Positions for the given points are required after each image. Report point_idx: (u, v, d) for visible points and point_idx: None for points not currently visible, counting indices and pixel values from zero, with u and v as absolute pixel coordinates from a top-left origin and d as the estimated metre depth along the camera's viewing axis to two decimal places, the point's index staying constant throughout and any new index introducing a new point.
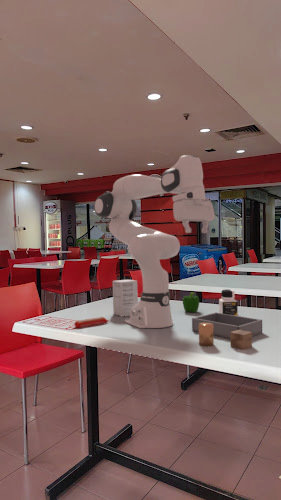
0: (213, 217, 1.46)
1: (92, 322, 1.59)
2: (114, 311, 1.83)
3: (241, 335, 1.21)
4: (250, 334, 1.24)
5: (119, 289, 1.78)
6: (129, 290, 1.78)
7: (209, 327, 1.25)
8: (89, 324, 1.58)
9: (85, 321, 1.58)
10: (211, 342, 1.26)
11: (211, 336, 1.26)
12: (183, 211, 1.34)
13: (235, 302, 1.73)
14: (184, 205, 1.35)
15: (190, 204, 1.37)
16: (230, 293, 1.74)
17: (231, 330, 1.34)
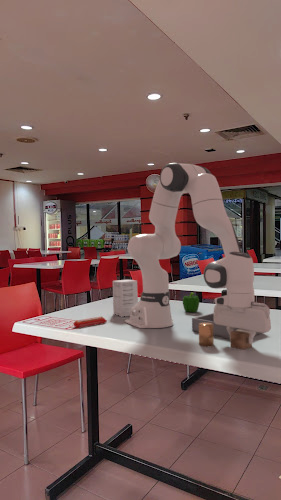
0: (262, 329, 1.16)
1: (91, 322, 1.60)
2: (114, 311, 1.83)
3: (241, 335, 1.21)
4: None
5: (119, 289, 1.78)
6: (129, 290, 1.78)
7: (209, 327, 1.25)
8: (88, 324, 1.59)
9: (84, 321, 1.59)
10: (211, 342, 1.26)
11: (211, 336, 1.26)
12: (216, 315, 1.29)
13: None
14: (218, 310, 1.29)
15: (226, 309, 1.26)
16: None
17: None
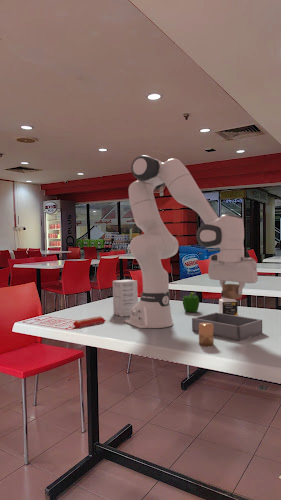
0: (249, 280, 1.33)
1: (91, 321, 1.60)
2: (114, 311, 1.83)
3: (232, 286, 1.38)
4: None
5: (119, 289, 1.78)
6: (129, 290, 1.78)
7: (209, 327, 1.25)
8: (88, 324, 1.59)
9: (84, 321, 1.59)
10: (211, 342, 1.26)
11: (211, 336, 1.26)
12: (211, 271, 1.46)
13: (235, 302, 1.73)
14: (212, 267, 1.45)
15: (219, 265, 1.43)
16: None
17: (231, 330, 1.34)
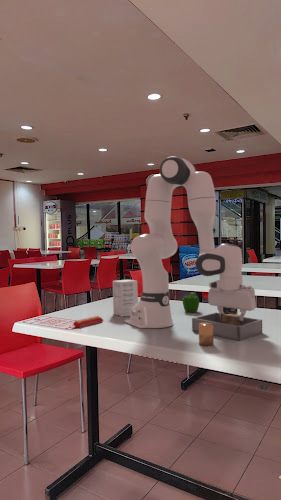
0: (248, 307, 1.39)
1: (90, 321, 1.61)
2: (114, 311, 1.83)
3: (231, 317, 1.44)
4: None
5: (119, 289, 1.78)
6: (129, 290, 1.78)
7: (209, 327, 1.25)
8: (88, 323, 1.60)
9: (84, 321, 1.59)
10: (211, 342, 1.26)
11: (211, 336, 1.26)
12: (210, 298, 1.52)
13: None
14: (212, 293, 1.51)
15: (219, 292, 1.49)
16: None
17: (231, 330, 1.34)
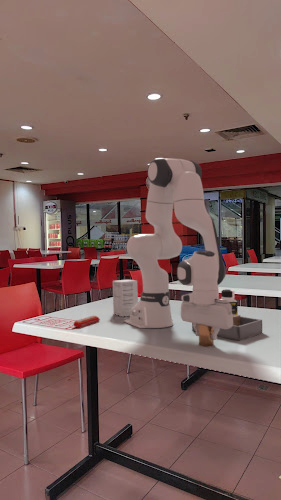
0: (224, 325, 1.20)
1: (89, 321, 1.62)
2: (114, 311, 1.83)
3: None
4: (239, 317, 1.46)
5: (119, 289, 1.78)
6: (129, 290, 1.78)
7: (209, 327, 1.25)
8: (87, 323, 1.60)
9: (83, 320, 1.59)
10: (211, 342, 1.26)
11: None
12: (183, 312, 1.33)
13: (235, 302, 1.73)
14: (185, 308, 1.32)
15: (192, 307, 1.30)
16: (230, 293, 1.74)
17: (231, 330, 1.34)
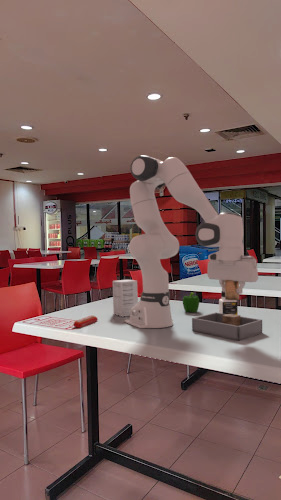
0: (250, 279, 1.30)
1: (88, 321, 1.62)
2: (114, 311, 1.83)
3: (231, 317, 1.44)
4: (239, 317, 1.46)
5: (119, 289, 1.78)
6: (129, 290, 1.78)
7: (235, 282, 1.35)
8: (86, 323, 1.61)
9: (83, 320, 1.60)
10: (237, 296, 1.36)
11: None
12: (210, 271, 1.43)
13: (235, 302, 1.73)
14: (211, 266, 1.42)
15: (219, 264, 1.39)
16: None
17: (231, 330, 1.34)
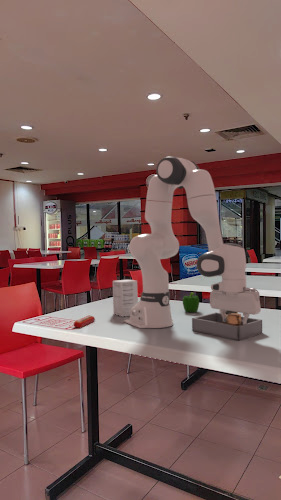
0: (252, 311, 1.31)
1: (87, 321, 1.62)
2: (114, 311, 1.83)
3: None
4: None
5: (119, 289, 1.78)
6: (129, 290, 1.78)
7: (237, 317, 1.37)
8: (86, 323, 1.61)
9: (83, 320, 1.60)
10: None
11: (239, 325, 1.37)
12: (212, 300, 1.44)
13: None
14: (214, 296, 1.43)
15: (221, 295, 1.41)
16: None
17: (231, 330, 1.34)
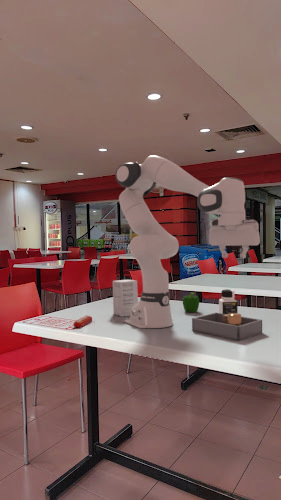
0: (251, 242, 1.30)
1: (86, 321, 1.63)
2: (114, 311, 1.83)
3: None
4: None
5: (119, 289, 1.78)
6: (129, 290, 1.78)
7: (238, 317, 1.37)
8: (85, 323, 1.61)
9: (82, 320, 1.60)
10: None
11: (239, 325, 1.37)
12: (211, 237, 1.43)
13: (235, 302, 1.73)
14: (213, 232, 1.43)
15: (220, 230, 1.40)
16: (230, 293, 1.74)
17: (231, 330, 1.34)
